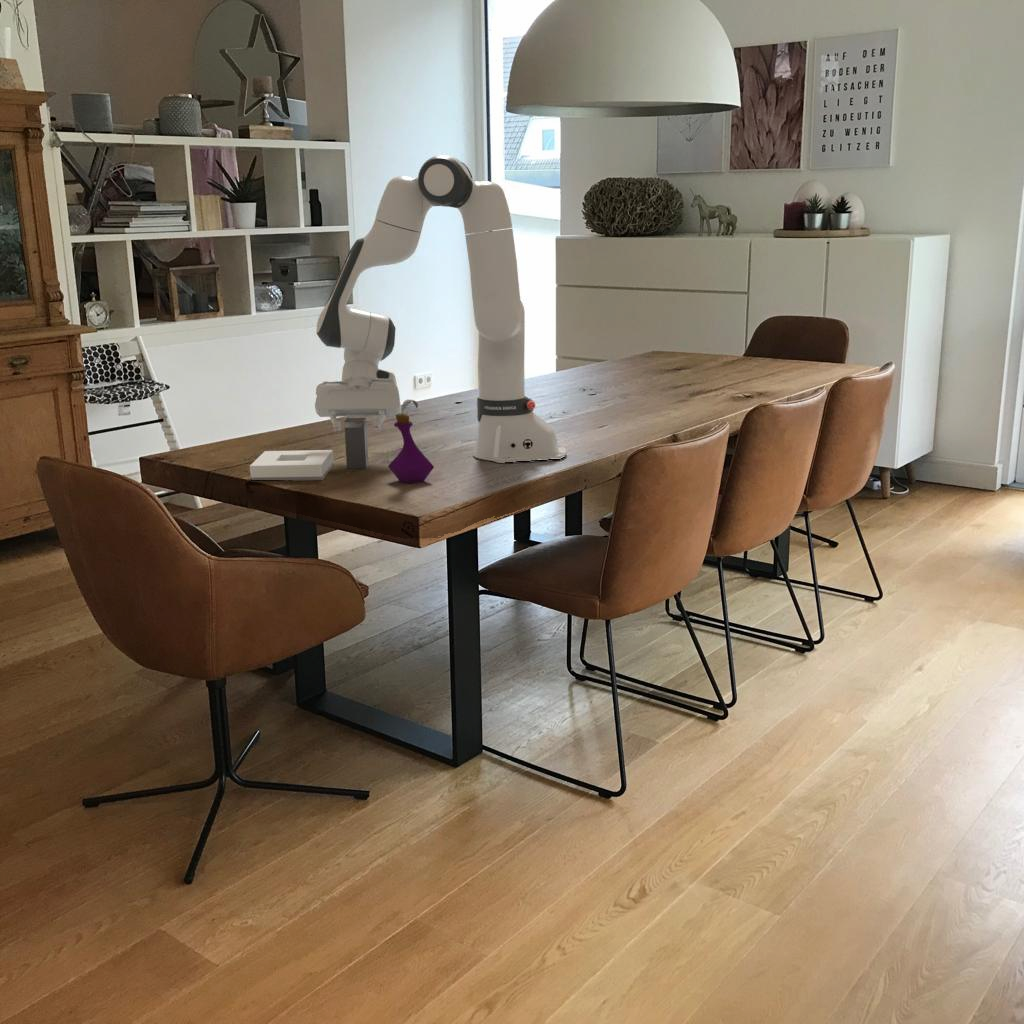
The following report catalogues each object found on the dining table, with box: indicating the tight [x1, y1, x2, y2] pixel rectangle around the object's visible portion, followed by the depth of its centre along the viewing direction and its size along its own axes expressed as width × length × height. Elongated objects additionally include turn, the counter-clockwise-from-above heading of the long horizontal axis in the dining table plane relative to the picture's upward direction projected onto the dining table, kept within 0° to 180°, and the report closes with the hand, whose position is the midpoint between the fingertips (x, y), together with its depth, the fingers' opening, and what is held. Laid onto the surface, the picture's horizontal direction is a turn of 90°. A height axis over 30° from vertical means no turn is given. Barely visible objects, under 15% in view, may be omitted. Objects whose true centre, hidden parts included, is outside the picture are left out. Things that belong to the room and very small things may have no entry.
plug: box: [343, 417, 369, 469], centre depth 266 cm, size 4×4×11 cm
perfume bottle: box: [387, 399, 435, 484], centre depth 250 cm, size 8×8×18 cm
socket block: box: [249, 449, 334, 482], centre depth 261 cm, size 16×16×4 cm
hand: (356, 429), depth 268 cm, fingers open, 8 cm apart
